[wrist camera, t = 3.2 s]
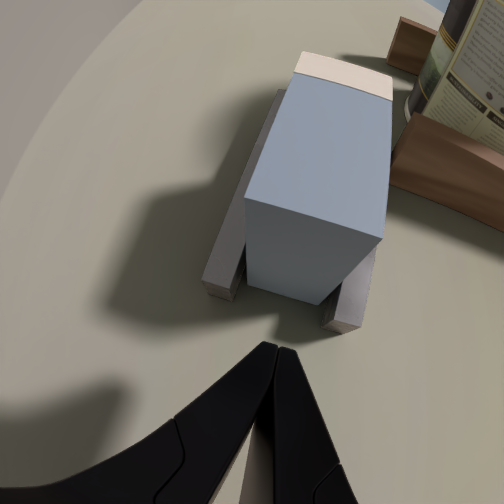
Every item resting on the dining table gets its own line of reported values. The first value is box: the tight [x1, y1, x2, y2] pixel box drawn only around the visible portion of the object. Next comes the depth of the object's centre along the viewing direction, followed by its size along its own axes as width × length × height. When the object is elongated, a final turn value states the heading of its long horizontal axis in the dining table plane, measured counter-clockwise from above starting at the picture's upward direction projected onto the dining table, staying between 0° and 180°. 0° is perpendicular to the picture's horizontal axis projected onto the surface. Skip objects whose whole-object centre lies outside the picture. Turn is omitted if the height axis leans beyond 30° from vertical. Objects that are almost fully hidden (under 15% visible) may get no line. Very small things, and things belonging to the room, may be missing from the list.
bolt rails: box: [201, 89, 377, 334], centre depth 15 cm, size 12×7×2 cm, turn 162°
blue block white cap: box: [244, 51, 393, 306], centre depth 12 cm, size 7×4×8 cm, turn 162°
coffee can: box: [404, 0, 504, 156], centre depth 13 cm, size 10×10×14 cm
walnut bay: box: [387, 17, 504, 232], centre depth 17 cm, size 15×14×5 cm
